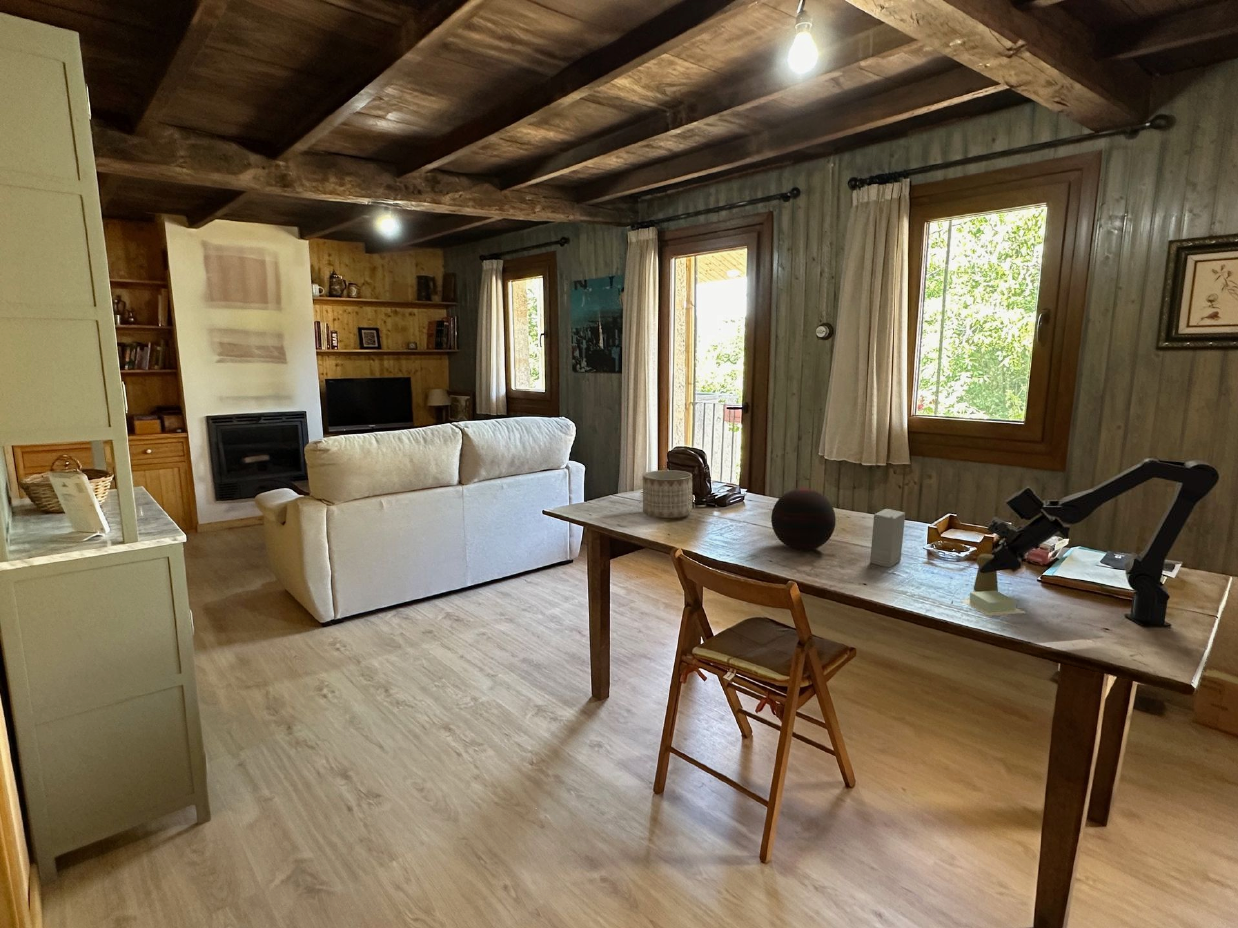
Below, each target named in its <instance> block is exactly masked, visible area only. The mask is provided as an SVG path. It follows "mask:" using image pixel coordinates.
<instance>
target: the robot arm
mask: <svg viewBox="0 0 1238 928" xmlns="http://www.w3.org/2000/svg"><path fill="white" fill-rule="evenodd" d="M1154 478H1156V479H1161V480H1166V481H1171V482H1175V483H1176V484H1175V491H1174V494H1173V497H1172V499H1171V501H1170V503H1169V505H1168V506H1167V508H1166V510H1165V512H1164V514H1163V515H1162V517H1161V519H1160V521H1159V523H1157V524H1158V525H1157V527H1156V528H1155V530H1154V532H1153V534H1152V536H1151V538H1150V539H1149V541H1148V543H1147V545H1146V547H1145V548H1144V549H1143V550H1142V551H1141V552H1140V553H1139V554H1137V553H1135V552H1131V553H1130V557H1129V559H1128V561H1127V562H1126V563H1125V564H1124V565H1123V567H1124V570H1125V572H1124V573H1125V577H1126V580H1127V583H1128V585H1129V587H1130V588H1131V589H1132V590H1134V592H1133V595H1132V599H1131V607H1130V613H1124V617H1125V618H1128V619H1129V620H1131V621H1133V622H1135V623H1137V624H1138V625H1140V626H1142V627H1156V628H1157V627H1172V623H1170V622H1169V621H1166V616H1167V615H1166V614H1167V608H1168V601H1169V599H1170V597H1171V596H1170V593H1169V592H1168V590H1167V587H1166V585H1165V584H1164V583H1163V581H1161V579H1162V576H1163V572H1164V568H1165V567H1164V566H1165V561H1166V558H1167V557H1168V554H1169V553H1170V551H1171V549H1172V548H1173V546H1174V544H1175V542H1176V540H1177V539H1178V537H1179V535H1180V533H1182V532H1181V531H1182V530H1183V528H1184V526H1185V524H1186V523H1187V521H1188V520H1189V517H1190V516H1191V514H1192V512H1193V510H1194V509H1195V507H1196V505H1197V504H1198V503H1199V502H1201V501H1202V500H1203V499H1204V498H1205V497H1206V496H1207V495H1208V494H1209V493H1210V492H1211V491H1212V489H1214V488H1215V487H1216V485H1217V484H1218V482H1219V479H1220V475H1219V472H1218V470H1217V469H1216V468H1214V466H1212V465H1210V463H1208V462H1206V461H1205V460H1202V459H1201V460H1199V459H1194V460H1193V459H1192V460H1190V461H1187V462H1186V461H1179V460H1178V461H1176V460H1165V459H1157V458H1153V457H1148V458H1145V459H1142V460H1141V462H1139V463H1138V464H1135V465H1134V466H1132V467H1130V468H1128V469H1126V470H1124V471H1122V472H1120V473H1118V474H1116V475H1114V476H1113V477H1111V478H1109V479H1107V480H1106V481H1103V482H1102V483H1100V484H1097V485H1096V486H1094V487H1092V488H1090V489H1086V490H1082V491H1079V492H1075V493H1073V494H1070V495H1068V496H1064V497H1062V498H1060V499H1057V500H1056V499H1054V500H1042V499H1041V497H1040V496H1038V495H1037V493H1035V491H1034V489H1032V487H1031V486H1030V485H1028V486H1027V487H1024V488H1023V489H1021V490H1019V491H1016V492H1015V493H1013V494H1012V495H1010V496H1009V497H1008V498H1007V499H1006V500H1005V501H1004V502H1003V503H1004V504H1005V505H1006V506H1007V507H1008V508H1009V509H1010V510H1011V511H1012V512H1013V513H1014V514H1015V515H1016V516H1017V517H1018V518H1019V519H1020V520H1025V521H1029V522H1028V523H1027V524H1025V525H1024V524H1022V525H1021V524H1020V525H1018V526H1017V527H1016V526H1014V525H1012V524H1011V523H1009V522H1008V521H1005V520H1003V519H1002V518H999V517H998V516H993V518H992V519H991V521H990V523H989V524H987V525H988V526H987V528H986V530H987V531H988V532H989V533H992V534H995V535H997V536H998V537H997V538H996V541H995V547H994V549H993V550H992V551H991V552H990V553H989V554H991V555H994V556H993V557H992V558H991V559H990V560H989V561H988V562H987V563H986V564H985V565H984V566H983V567H982V568H981V569H980V570H979V571H980V572H981V573H988V572H994V571H997V572H1000V571H1007V570H1011V571H1012V572H1017V571H1018V570H1020V569H1021V568H1022V560H1023V559H1024V558H1026V554H1027V555H1028V553H1030V552H1032V551H1033V550H1038V549H1040V548H1041V545H1042V544H1043V543H1046V542H1047V541H1049V540H1050V539H1052V538H1053V537H1054V536H1056V535H1058V534H1061V536H1063V537H1064V538H1065V539H1069V533H1070V529H1071V526H1070V525H1076V524H1078V523H1080V522H1082V521H1084V520H1085V519H1086V518H1087V517H1089V516H1090V515H1092V513H1094V512H1095V511H1096V510H1097V509H1098V508H1099V507H1101V506H1102V505H1104V504H1105V503H1107V502H1109V501H1111V500H1113V499H1114V498H1116V497H1118V496H1120V495H1122V494H1124V493H1126V492H1128V491H1129V490H1132V489H1134V488H1135V487H1138V486H1140V485H1141V484H1144V483H1145V482H1148V481H1149V480H1151V479H1154ZM1030 520H1031V521H1030ZM999 539H1001V540H999Z"/></svg>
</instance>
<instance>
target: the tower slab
mask: <svg viewBox="0 0 1238 928" xmlns="http://www.w3.org/2000/svg"><path fill="white" fill-rule="evenodd" d="M960 601H961V602H963V603H965V604H966V605H967V606H968V607H969V606H970V607H972V608H973V609H975V610H977V611H978V612H979V613H982V614H983V615H985V616H1001V615H1002V616H1003V615H1014V614H1025V613H1026V612H1025V611H1023V610H1022V609H1019V608H1017V607H1015V611H1003V612H990V613H988V612H987V611H985V610H983V609H981V608H980V607H978V606H976V605H974V604H973V603H971V602H970V598H968V599H960Z"/></svg>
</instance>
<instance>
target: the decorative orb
mask: <svg viewBox="0 0 1238 928" xmlns="http://www.w3.org/2000/svg"><path fill="white" fill-rule="evenodd" d="M770 518H771V519H770V520H771V521H770V522H771V526H772V530H773V533H774V534H775V536H776V537H777V539H778V540H779V541H780V542H781V543H782V544H783V545H784V546H786V547H788V548H791V549H792V550H796V551H802V552H803V551H804V552H806V551H807V552H808V551H813V550H816V549H819V548H820V547H822V546H824V544H826V543H827V542H828V541H829V540H830V539H831V537H832V535H833V533H834V531H835V528H836V522H837V521H836V513H835V509H834V508H833V505H832V504H831V502H830V501H829V499H827V497H826V496H825V495H823V494H822V493H820V492H818V491H816V490H814V489H811V488H795V489H792V490H789V491H787V492H786V493H784V494H782V495H781V496H780V497H779V499H778V500H777V501H776V502H775V504H774V506H773V508H772V511H771V516H770Z"/></svg>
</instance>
